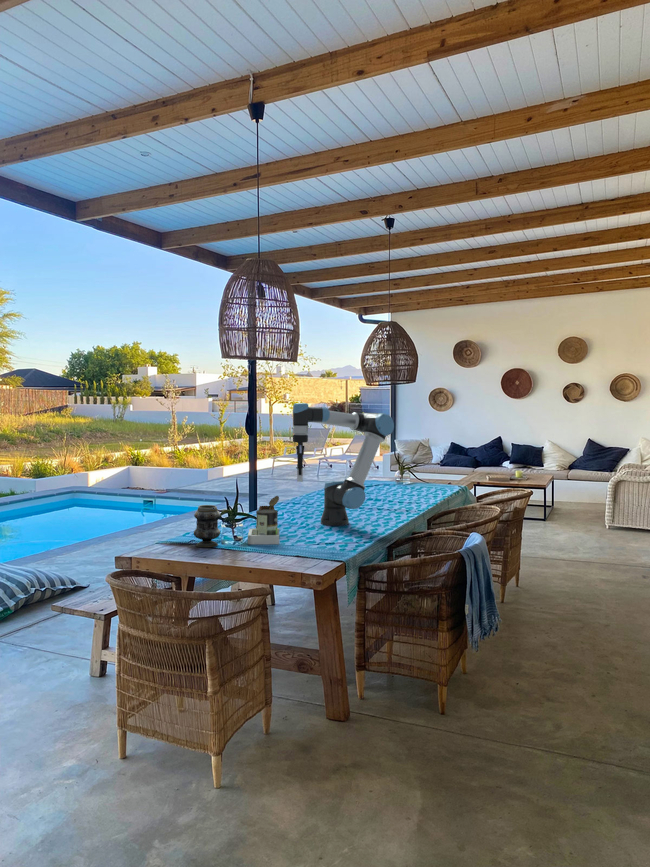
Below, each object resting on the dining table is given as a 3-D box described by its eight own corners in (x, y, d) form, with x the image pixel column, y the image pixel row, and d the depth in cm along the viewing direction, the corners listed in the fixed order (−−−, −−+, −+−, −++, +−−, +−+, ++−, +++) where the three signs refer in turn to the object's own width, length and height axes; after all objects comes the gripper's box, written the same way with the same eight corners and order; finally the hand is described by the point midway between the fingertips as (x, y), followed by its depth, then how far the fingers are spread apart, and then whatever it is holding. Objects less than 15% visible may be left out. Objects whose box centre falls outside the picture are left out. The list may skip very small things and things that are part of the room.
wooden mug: (270, 531, 314) (271, 496, 313) (252, 527, 323) (252, 493, 322) (283, 529, 321) (283, 494, 320) (264, 525, 329) (265, 491, 328)
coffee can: (278, 537, 300) (278, 509, 299) (277, 542, 290) (277, 513, 289) (256, 537, 300) (256, 509, 299) (255, 542, 290) (255, 512, 289)
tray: (279, 536, 303) (279, 528, 303) (279, 544, 287) (279, 535, 287) (249, 536, 302) (249, 528, 302) (247, 544, 286) (247, 535, 286)
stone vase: (224, 546, 282) (224, 507, 281) (198, 549, 276) (198, 509, 275) (215, 541, 292) (215, 503, 291) (190, 543, 286) (190, 505, 285)
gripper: (292, 433, 313) (292, 479, 315) (293, 434, 300) (292, 483, 302) (307, 433, 314) (306, 479, 315) (308, 435, 301) (307, 483, 302)
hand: (299, 481), depth 308 cm, fingers closed
